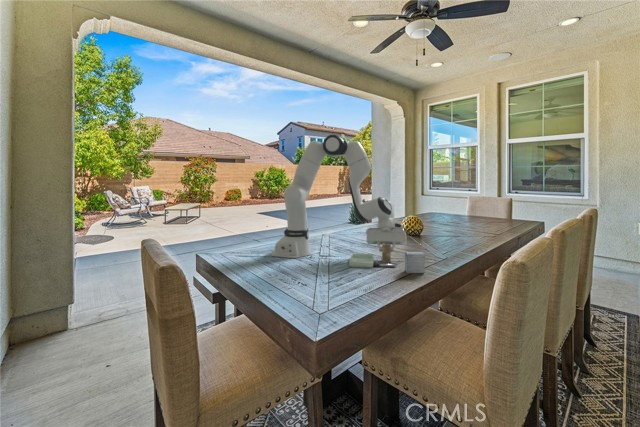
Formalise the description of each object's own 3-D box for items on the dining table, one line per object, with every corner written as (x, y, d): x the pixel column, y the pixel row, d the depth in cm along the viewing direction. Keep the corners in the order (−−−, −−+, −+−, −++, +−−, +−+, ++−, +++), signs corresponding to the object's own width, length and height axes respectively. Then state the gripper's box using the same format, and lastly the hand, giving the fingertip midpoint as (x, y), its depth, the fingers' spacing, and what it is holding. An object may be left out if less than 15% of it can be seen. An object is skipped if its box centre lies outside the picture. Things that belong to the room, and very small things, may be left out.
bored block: (382, 262, 152) (382, 244, 150) (382, 260, 156) (382, 242, 154) (390, 262, 151) (390, 244, 150) (390, 260, 155) (390, 242, 154)
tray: (349, 267, 145) (349, 261, 145) (351, 258, 160) (351, 253, 160) (372, 267, 143) (372, 262, 143) (373, 258, 158) (373, 254, 158)
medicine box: (422, 270, 138) (422, 251, 137) (424, 273, 134) (425, 254, 133) (404, 270, 139) (404, 251, 138) (406, 273, 135) (406, 254, 133)
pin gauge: (373, 266, 145) (373, 262, 144) (373, 265, 147) (373, 261, 146) (395, 267, 143) (395, 263, 142) (395, 266, 145) (395, 261, 144)
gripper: (366, 224, 161) (365, 247, 152) (406, 225, 157) (407, 248, 148) (366, 231, 166) (365, 253, 157) (405, 231, 162) (406, 254, 153)
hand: (386, 251), depth 153 cm, fingers closed on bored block, 4 cm apart
